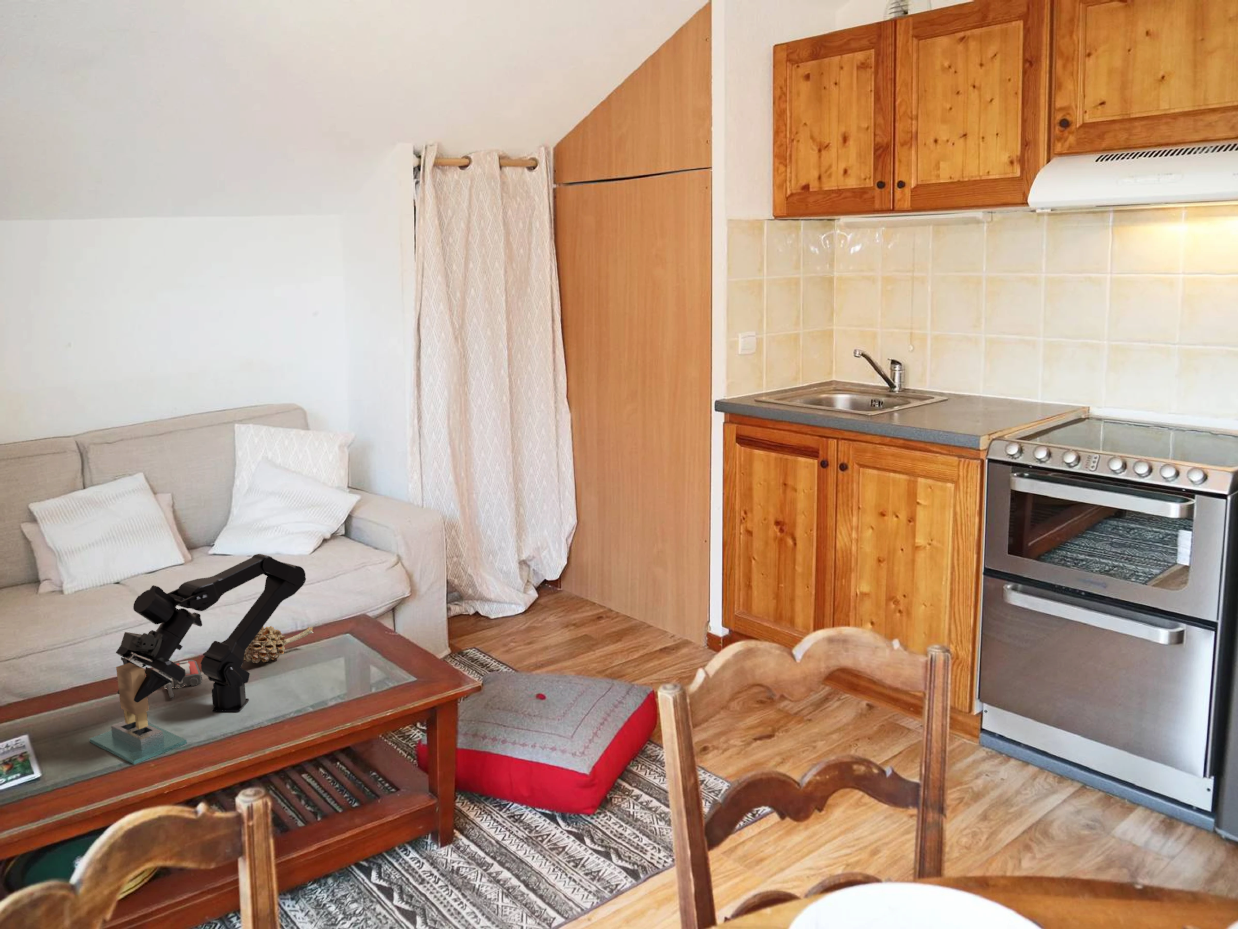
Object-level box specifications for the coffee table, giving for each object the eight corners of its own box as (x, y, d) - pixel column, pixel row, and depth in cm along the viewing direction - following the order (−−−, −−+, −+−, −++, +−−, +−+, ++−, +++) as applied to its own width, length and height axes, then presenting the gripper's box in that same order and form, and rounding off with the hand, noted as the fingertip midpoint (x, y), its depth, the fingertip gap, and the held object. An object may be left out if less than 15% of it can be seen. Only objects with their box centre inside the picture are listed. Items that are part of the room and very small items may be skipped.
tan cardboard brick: (122, 723, 233) (116, 667, 230) (135, 718, 235) (129, 662, 233) (137, 730, 229) (131, 673, 227) (150, 725, 232) (144, 668, 229)
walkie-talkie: (160, 675, 272) (167, 703, 255) (158, 658, 271) (165, 686, 254) (197, 668, 276) (206, 696, 259) (195, 652, 275) (205, 679, 258)
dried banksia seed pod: (249, 674, 270) (246, 637, 268) (228, 666, 276) (225, 629, 274) (323, 650, 287) (320, 614, 285) (302, 642, 293) (300, 607, 291)
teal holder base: (89, 742, 234) (88, 728, 233) (141, 722, 243) (140, 709, 242) (134, 764, 223) (132, 749, 222) (186, 743, 232) (185, 729, 232)
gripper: (119, 608, 236) (75, 672, 230) (166, 625, 225) (122, 692, 219) (156, 632, 244) (115, 694, 238) (204, 649, 233) (161, 714, 227)
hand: (127, 698), depth 230 cm, fingers closed on tan cardboard brick, 6 cm apart
